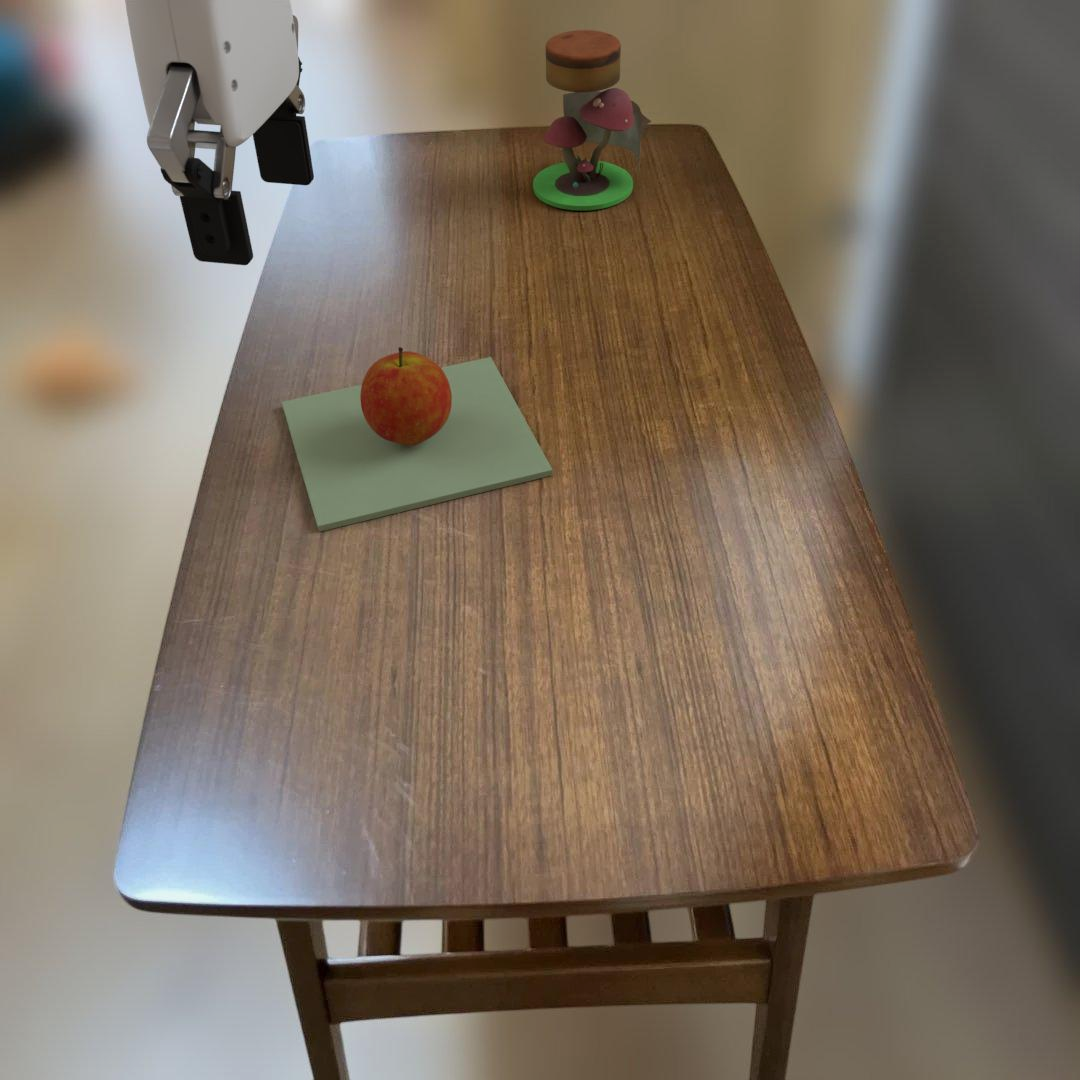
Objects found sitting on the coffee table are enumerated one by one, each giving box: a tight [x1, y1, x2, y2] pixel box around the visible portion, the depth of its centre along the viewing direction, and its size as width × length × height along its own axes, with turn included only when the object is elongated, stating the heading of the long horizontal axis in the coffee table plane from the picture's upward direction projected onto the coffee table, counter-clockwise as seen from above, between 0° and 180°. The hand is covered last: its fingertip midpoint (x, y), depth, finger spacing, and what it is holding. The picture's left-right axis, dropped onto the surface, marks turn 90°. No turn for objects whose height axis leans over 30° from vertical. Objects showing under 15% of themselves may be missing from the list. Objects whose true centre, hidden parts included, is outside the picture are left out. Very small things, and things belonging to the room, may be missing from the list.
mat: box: [281, 356, 553, 533], centre depth 88 cm, size 18×16×1 cm
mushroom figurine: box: [532, 29, 652, 212], centre depth 114 cm, size 12×13×15 cm
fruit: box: [360, 346, 452, 446], centre depth 85 cm, size 7×7×8 cm
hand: (258, 219), depth 64 cm, fingers open, 9 cm apart
